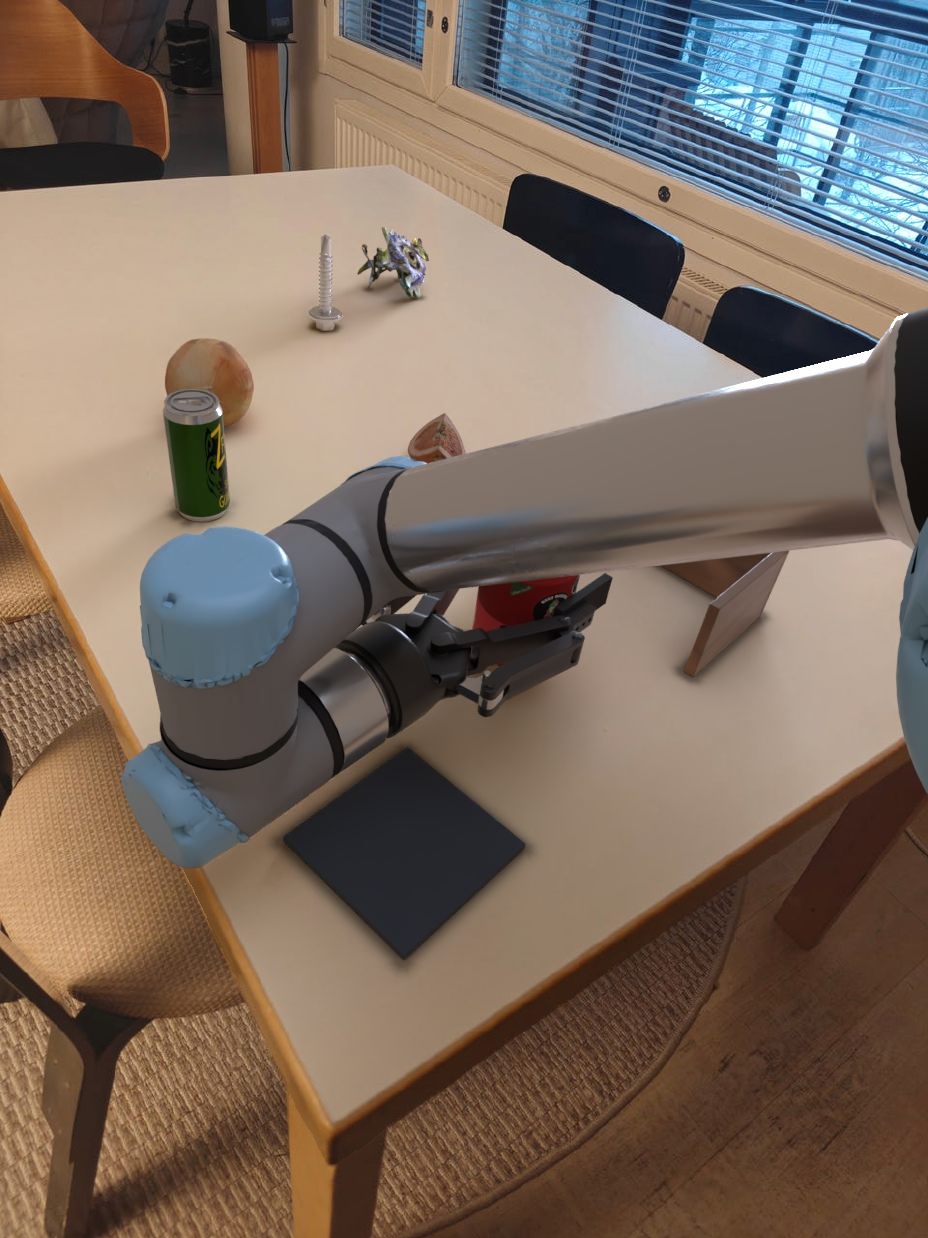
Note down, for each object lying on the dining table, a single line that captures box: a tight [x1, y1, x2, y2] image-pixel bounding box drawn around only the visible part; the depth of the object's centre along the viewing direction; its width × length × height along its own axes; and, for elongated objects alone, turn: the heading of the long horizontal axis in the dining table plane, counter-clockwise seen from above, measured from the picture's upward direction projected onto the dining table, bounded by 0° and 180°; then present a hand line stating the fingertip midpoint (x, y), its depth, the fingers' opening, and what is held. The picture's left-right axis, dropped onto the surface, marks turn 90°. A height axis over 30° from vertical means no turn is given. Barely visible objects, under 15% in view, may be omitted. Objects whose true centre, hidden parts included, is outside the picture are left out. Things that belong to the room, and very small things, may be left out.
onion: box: [164, 337, 255, 427], centre depth 98 cm, size 10×10×10 cm
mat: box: [282, 746, 526, 960], centre depth 60 cm, size 12×12×1 cm
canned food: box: [472, 575, 581, 667], centre depth 69 cm, size 8×8×11 cm
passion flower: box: [356, 226, 430, 299], centre depth 136 cm, size 11×11×12 cm
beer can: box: [162, 389, 231, 523], centre depth 84 cm, size 5×5×12 cm
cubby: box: [660, 551, 790, 678], centre depth 84 cm, size 24×13×8 cm, turn 47°
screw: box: [307, 234, 343, 332], centre depth 121 cm, size 13×5×5 cm
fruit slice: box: [407, 412, 467, 463], centre depth 97 cm, size 8×7×5 cm
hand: (563, 563), depth 71 cm, fingers closed on canned food, 8 cm apart
